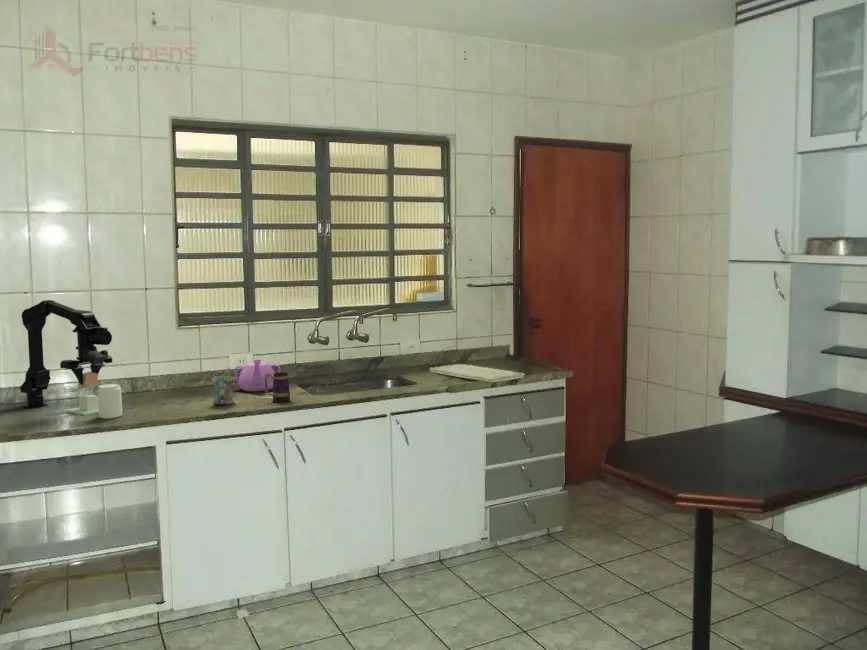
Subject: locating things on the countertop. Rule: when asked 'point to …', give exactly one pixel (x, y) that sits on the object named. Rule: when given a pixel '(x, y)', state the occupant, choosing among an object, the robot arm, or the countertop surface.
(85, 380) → the terracotta brick
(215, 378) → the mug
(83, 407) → the cream brick
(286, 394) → the mug
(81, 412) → the plate
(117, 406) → the beverage can
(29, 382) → the robot arm
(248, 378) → the teapot
